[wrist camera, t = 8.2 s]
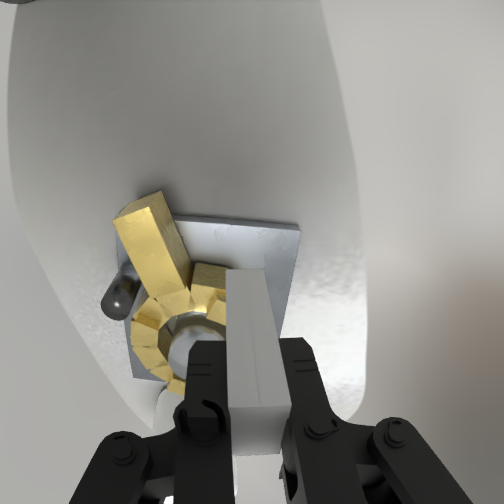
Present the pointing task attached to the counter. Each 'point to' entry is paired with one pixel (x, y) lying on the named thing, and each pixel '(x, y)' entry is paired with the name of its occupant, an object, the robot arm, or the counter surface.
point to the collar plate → (213, 253)
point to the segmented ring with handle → (165, 283)
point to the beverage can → (166, 423)
